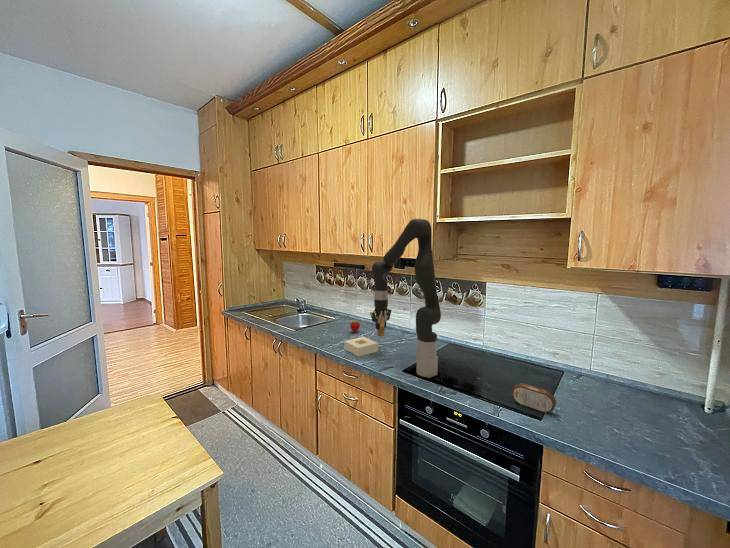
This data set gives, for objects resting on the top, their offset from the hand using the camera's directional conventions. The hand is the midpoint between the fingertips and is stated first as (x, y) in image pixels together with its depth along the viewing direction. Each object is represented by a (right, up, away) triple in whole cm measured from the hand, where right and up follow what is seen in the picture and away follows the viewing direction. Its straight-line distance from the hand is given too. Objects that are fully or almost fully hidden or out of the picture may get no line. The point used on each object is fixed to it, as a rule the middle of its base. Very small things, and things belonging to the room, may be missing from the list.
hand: (380, 328), depth 166 cm
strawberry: (-16, -11, +43) cm, 47 cm away
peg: (0, -4, 0) cm, 4 cm away
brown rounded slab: (+57, -22, -49) cm, 78 cm away
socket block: (-11, -15, +10) cm, 21 cm away
